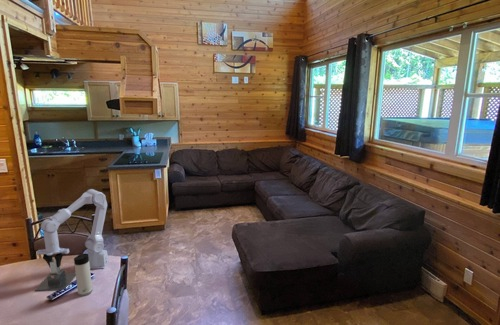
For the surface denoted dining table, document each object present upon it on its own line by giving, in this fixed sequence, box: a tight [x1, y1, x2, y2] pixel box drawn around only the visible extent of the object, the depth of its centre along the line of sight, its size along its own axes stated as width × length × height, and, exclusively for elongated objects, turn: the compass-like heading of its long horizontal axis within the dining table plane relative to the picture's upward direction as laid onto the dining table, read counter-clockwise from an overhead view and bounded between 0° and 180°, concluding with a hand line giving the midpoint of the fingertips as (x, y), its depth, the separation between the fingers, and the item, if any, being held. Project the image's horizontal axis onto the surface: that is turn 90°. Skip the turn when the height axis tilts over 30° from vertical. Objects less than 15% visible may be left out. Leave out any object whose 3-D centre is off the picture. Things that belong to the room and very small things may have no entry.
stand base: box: [34, 268, 76, 292], centre depth 157 cm, size 14×14×6 cm
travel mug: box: [73, 253, 93, 297], centre depth 148 cm, size 6×7×20 cm
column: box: [49, 258, 61, 275], centre depth 156 cm, size 3×3×10 cm
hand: (55, 266), depth 156 cm, fingers closed on column, 3 cm apart
